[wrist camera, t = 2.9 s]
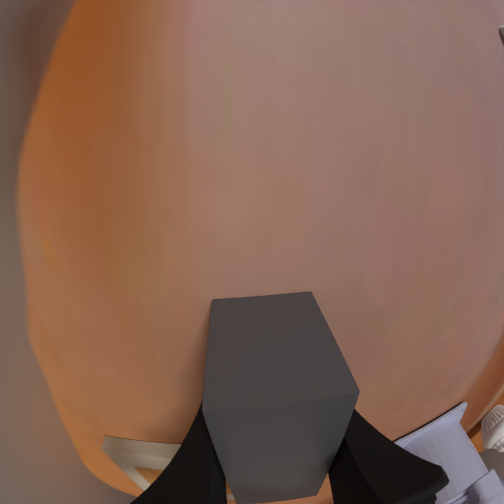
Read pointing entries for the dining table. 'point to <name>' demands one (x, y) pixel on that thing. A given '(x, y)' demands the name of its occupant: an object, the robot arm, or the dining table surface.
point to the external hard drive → (502, 29)
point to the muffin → (493, 428)
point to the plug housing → (275, 395)
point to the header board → (143, 459)
